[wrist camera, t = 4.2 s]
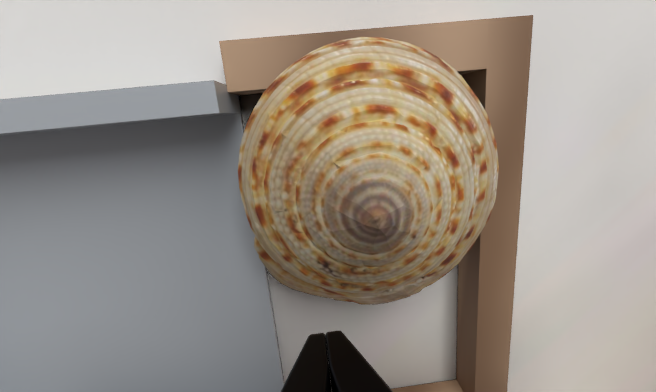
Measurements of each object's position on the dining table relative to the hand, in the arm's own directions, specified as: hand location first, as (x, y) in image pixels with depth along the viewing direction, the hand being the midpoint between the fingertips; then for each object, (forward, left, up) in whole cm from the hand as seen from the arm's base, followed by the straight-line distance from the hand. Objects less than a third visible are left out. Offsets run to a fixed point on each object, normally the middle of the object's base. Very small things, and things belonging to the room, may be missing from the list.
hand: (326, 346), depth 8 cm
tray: (+9, 0, -5) cm, 10 cm away
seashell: (-2, 0, -5) cm, 5 cm away
